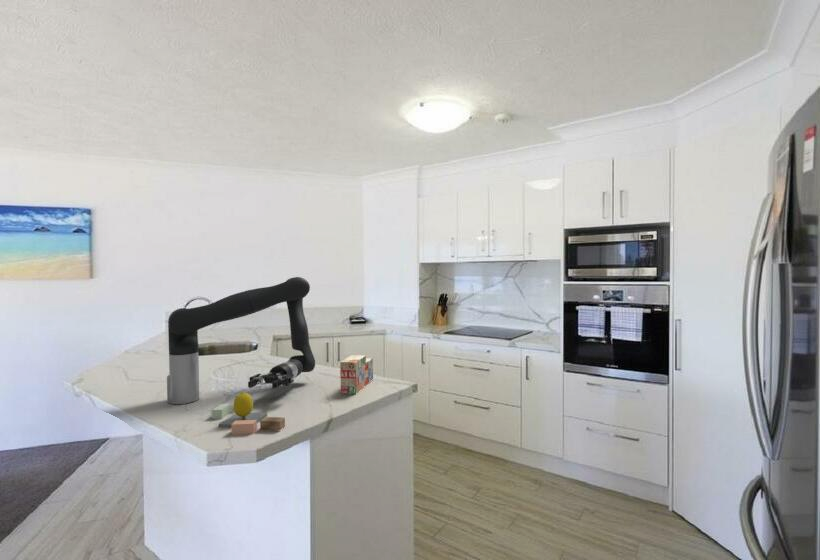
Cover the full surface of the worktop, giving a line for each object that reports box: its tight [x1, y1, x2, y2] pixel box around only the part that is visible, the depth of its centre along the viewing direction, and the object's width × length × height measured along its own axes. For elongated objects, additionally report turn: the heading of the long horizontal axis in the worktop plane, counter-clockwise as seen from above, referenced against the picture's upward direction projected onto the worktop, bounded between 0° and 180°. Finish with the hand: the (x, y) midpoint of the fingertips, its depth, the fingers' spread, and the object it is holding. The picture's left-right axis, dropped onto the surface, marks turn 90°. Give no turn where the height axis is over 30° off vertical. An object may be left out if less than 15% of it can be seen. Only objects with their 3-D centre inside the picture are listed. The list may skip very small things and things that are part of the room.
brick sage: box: [211, 403, 232, 420], centre depth 125 cm, size 6×3×3 cm, turn 0°
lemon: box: [232, 391, 254, 418], centre depth 120 cm, size 6×6×8 cm
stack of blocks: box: [339, 354, 374, 395], centre depth 156 cm, size 21×6×12 cm, turn 168°
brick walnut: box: [259, 416, 286, 431], centre depth 113 cm, size 6×3×3 cm, turn 83°
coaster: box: [218, 412, 268, 428], centre depth 120 cm, size 10×10×1 cm
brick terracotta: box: [230, 420, 258, 436], centre depth 111 cm, size 6×3×3 cm, turn 95°
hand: (261, 385), depth 130 cm, fingers open, 8 cm apart
